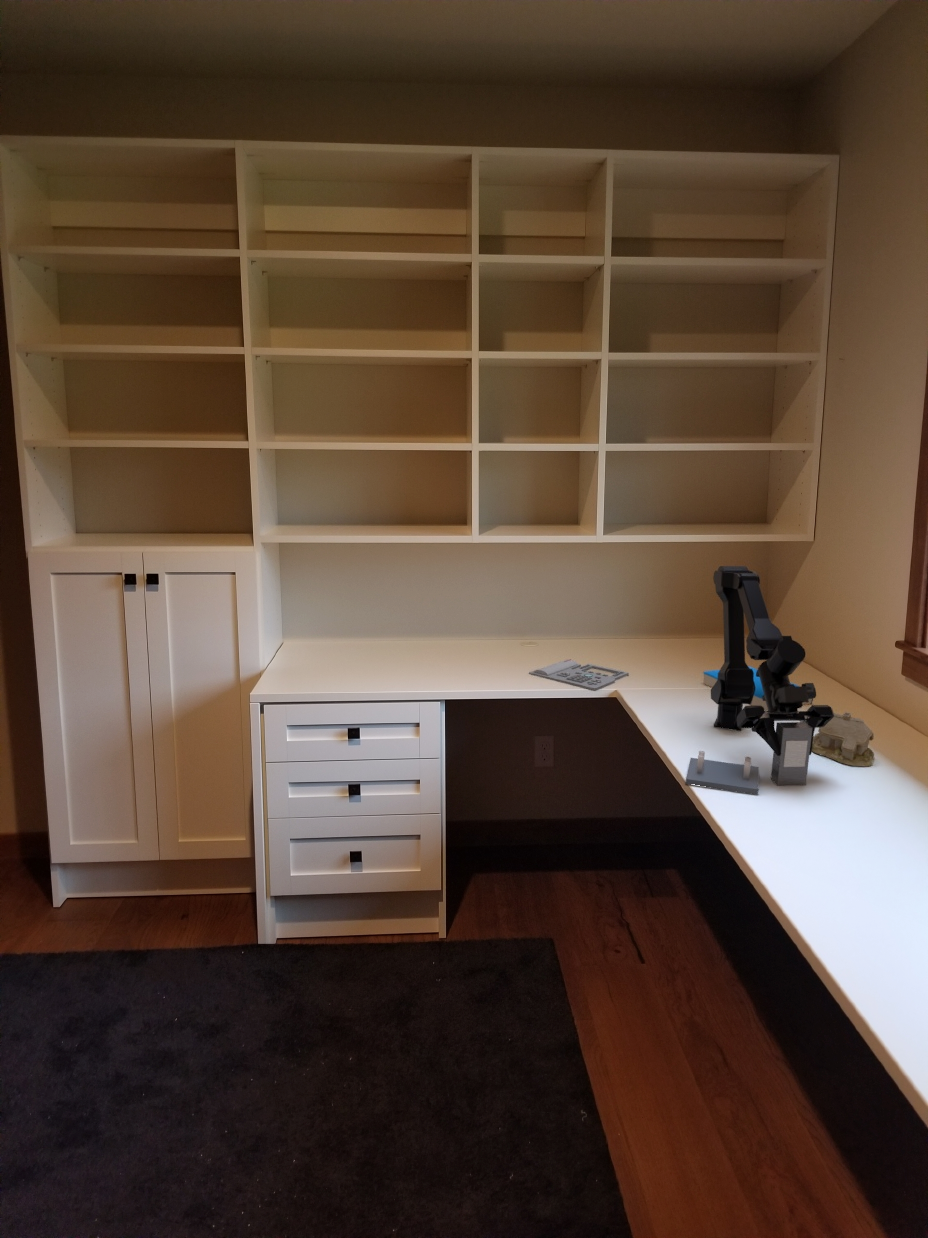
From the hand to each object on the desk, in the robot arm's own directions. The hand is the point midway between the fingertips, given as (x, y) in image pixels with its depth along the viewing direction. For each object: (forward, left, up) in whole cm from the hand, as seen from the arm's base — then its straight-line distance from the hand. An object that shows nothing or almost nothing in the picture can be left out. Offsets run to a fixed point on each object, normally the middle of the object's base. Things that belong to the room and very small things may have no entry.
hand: (794, 754), depth 169 cm
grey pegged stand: (+3, -13, -7) cm, 15 cm away
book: (-61, -13, -7) cm, 63 cm away
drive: (-1, -1, -7) cm, 7 cm away
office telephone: (-56, -61, -7) cm, 83 cm away
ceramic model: (-23, +9, -7) cm, 26 cm away
